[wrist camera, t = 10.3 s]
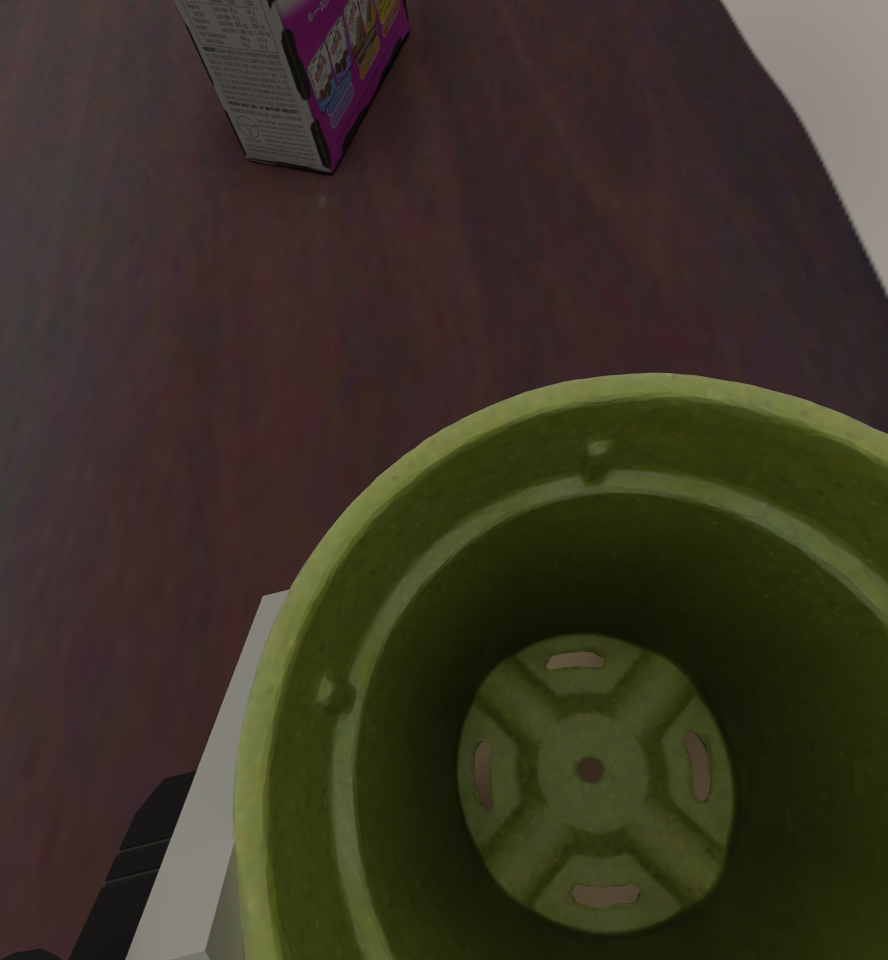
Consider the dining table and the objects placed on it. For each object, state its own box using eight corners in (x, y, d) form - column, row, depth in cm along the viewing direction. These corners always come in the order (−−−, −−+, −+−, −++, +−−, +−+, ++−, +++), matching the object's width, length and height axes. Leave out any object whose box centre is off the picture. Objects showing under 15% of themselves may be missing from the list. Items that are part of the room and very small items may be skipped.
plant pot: (749, 547, 16) (971, 327, 8) (889, 1024, 12) (1611, 1514, 4) (380, 586, 16) (255, 417, 9) (396, 1052, 12) (186, 1524, 5)
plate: (251, 838, 18) (232, 843, 17) (482, 479, 22) (480, 464, 21) (682, 1193, 14) (697, 1230, 13) (870, 682, 18) (894, 676, 17)
